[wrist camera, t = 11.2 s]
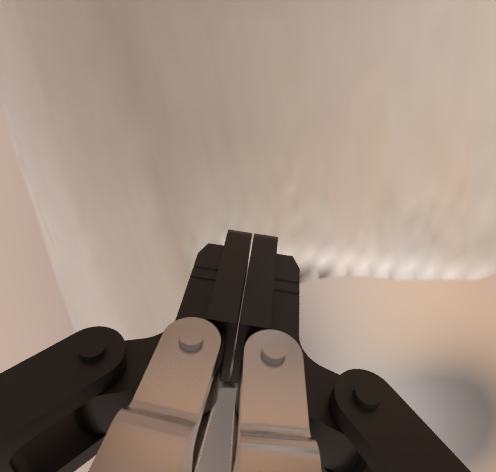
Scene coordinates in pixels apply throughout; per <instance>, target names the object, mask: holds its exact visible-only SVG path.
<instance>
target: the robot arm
mask: <svg viewBox="0 0 496 472" xmlns="http://www.w3.org/2000/svg"><path fill="white" fill-rule="evenodd" d="M251 238H252V233H247V232H241V231H234V230H228V233H227V237H226V241H225V245H224V246H222V245H216V244H207V245H206V246H205V247H204V248H203V249H202V250H201V251H200V252H199V253H198V255H197V258H196V261H195V264H194V268H193V270H192V273H191V276H190V279H189V282H188V285H187V288H186V291H185V294H184V297H183V300H182V303H181V306H180V309H179V312H178V315H177V317H176V320H175V321H174V322H173V323H171V324H170V325H169V326H168V327H167V328H166V329H165V331H164V332H162V333H161V334H158V335H156V336H153V337H150V338H144V339H136V340H127V341H124V339H123V337H122V336H121V334H119V333H118V332H117V331H115V330H114V329H111V328H108V327H100V326H98V327H90V328H86V329H83V330H81V331H78V332H76V333H75V334H73V335H71V336H69V337H67V338H65V339H64V340H62V341H60V342H58V343H56V344H54V345H53V346H51V347H49V348H47V349H45V350H43V351H41V352H39V353H38V354H36V355H34V356H32V357H30V358H28V359H26V360H25V361H23V362H21V363H19V364H17V365H15V366H14V367H12V368H10V369H8V370H6V371H4V372H3V373H0V472H74V471H75V470H77V469H78V468H79V467H81V466H82V465H83V464H85V463H86V462H87V461H89V460H90V459H91V458H93V457H94V456H95V455H96V457H95V459H94V461H93V463H92V465H91V467H90V469H89V471H88V472H196V471H197V467H198V464H199V460H200V456H201V453H202V449H203V445H204V441H205V438H206V435H207V431H208V427H209V423H210V420H211V416H212V413H213V408H214V405H215V403H216V400H217V397H218V391H219V386H220V381H226V382H228V380H229V374H230V368H231V362H232V357H233V351H234V345H235V339H236V333H237V327H238V321H239V315H240V309H241V303H242V297H243V291H244V285H245V279H246V272H247V266H248V259H249V252H250V245H251ZM277 242H278V237H274V236H267V235H261V234H255V233H254V238H253V244H252V250H251V256H250V262H249V268H248V274H247V280H246V286H245V292H244V298H243V304H242V310H241V316H240V322H239V329H238V336H237V343H236V350H235V356H234V363H233V370H232V377H231V382H233V383H238V387H237V394H236V402H235V407H234V414H233V428H232V444H231V458H230V472H471V471H470V470H469V469H468V468H467V467H466V466H465V465H464V464H463V463H462V462H461V461H460V460H459V459H458V458H457V457H456V456H455V454H454V453H453V452H452V451H451V450H450V449H449V448H448V447H447V446H446V445H445V444H444V443H443V442H442V441H441V440H440V439H439V438H438V436H437V435H436V434H435V433H434V432H433V431H432V430H431V429H430V428H429V427H428V426H427V425H426V424H425V423H424V422H423V420H422V419H421V418H420V417H419V416H418V415H417V414H416V413H415V412H414V411H413V410H412V409H411V408H410V407H409V406H408V405H407V403H406V402H405V401H404V400H403V399H402V398H401V397H400V396H399V395H398V394H397V393H396V392H395V391H394V390H393V389H392V387H390V385H389V384H388V383H387V382H385V380H384V379H382V378H381V377H379V376H378V375H376V374H374V373H372V372H370V371H366V370H361V369H352V370H348V371H345V372H344V373H342V374H341V375H339V374H337V373H334V372H332V371H330V370H328V369H326V368H324V367H322V366H319V365H318V364H317V363H315V362H314V361H312V360H311V359H310V358H309V357H308V356H307V355H306V353H305V352H304V350H303V349H302V347H301V345H300V341H299V272H300V269H299V267H298V265H297V263H296V262H295V260H294V258H293V256H287V255H280V254H277Z"/></svg>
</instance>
